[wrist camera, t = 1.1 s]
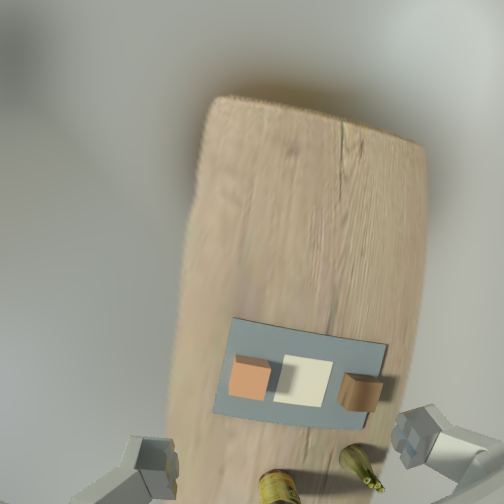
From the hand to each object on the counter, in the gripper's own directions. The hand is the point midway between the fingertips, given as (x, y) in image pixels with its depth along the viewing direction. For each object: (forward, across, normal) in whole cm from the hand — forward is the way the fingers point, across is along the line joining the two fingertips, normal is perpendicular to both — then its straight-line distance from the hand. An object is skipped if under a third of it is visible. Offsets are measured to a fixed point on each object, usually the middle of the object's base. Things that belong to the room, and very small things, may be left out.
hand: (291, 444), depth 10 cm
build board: (+34, +9, -22) cm, 42 cm away
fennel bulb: (+29, +18, -38) cm, 51 cm away
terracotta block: (+34, 0, -20) cm, 39 cm away
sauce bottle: (+28, +4, -41) cm, 50 cm away
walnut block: (+32, +17, -24) cm, 44 cm away
